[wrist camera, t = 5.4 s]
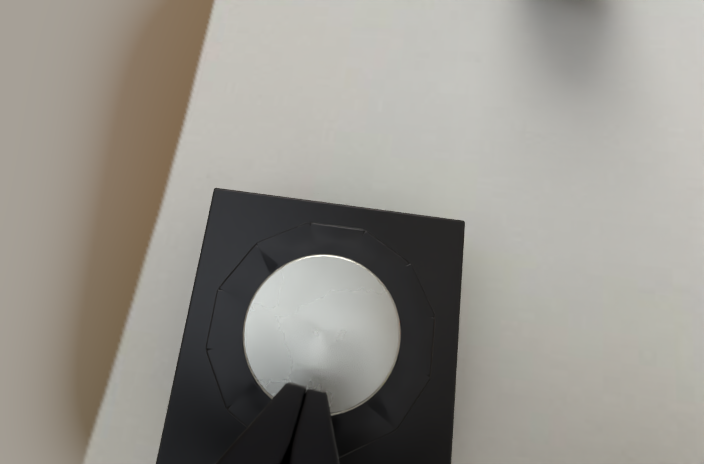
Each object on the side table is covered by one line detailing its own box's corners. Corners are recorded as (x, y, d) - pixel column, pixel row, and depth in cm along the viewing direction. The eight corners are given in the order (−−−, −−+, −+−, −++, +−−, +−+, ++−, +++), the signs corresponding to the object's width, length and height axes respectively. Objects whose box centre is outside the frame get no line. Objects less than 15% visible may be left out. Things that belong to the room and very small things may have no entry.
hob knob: (381, 410, 14) (393, 426, 11) (245, 394, 14) (228, 406, 11) (394, 276, 15) (408, 263, 12) (268, 259, 15) (257, 244, 12)
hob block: (422, 465, 19) (466, 523, 13) (192, 438, 18) (130, 485, 13) (438, 243, 21) (481, 206, 15) (235, 216, 21) (200, 169, 15)
